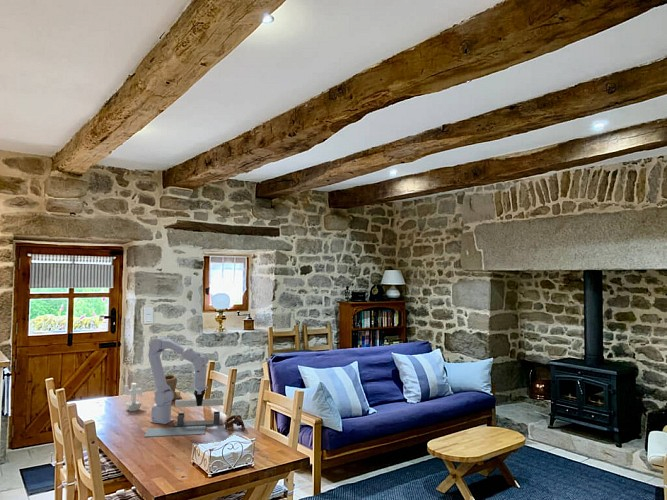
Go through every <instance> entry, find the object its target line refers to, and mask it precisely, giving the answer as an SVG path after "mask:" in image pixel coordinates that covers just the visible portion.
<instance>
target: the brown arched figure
mask: <svg viewBox="0 0 667 500" xmlns="http://www.w3.org/2000/svg"><path fill="white" fill-rule="evenodd" d="M223 423H224V429H225V430H226V431H227V430H228V429H230V428H232V429H234V425H236V427H240V426H241V430H242V431H243V432H244V431H245V430H246V425H245V422H244V421H243V417H242V416H241V415H240V414H238V415H237V414H234V415H231V416H229V417H228V418H227V419H226V420H225V422H223Z"/></svg>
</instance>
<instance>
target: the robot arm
mask: <svg viewBox="0 0 667 500" xmlns="http://www.w3.org/2000/svg"><path fill="white" fill-rule="evenodd" d="M148 347H149V348H148V354H147V355H148V360H149V363H150V364H149V365H150V368H151V372H152V375H153V379H154V385H155V391H154V404H153V405H152V407H151V412H150V413H151V417H150V419H151V420H150V421H149V422H150V423H156V424H163V425H166V424H169V423H170V422H172V421H174V420H175V418H172V401H174V399H173V398H174V393H173V392H172V390H171V388H170V386H168V385H167V382H166V379H165V376H166V375H165V372H164V368H163V364H162V363H163V362H162V359H161V354H162V353H163V352H164V350H167V349H168V350H171V351H174V352H175V353H177V354H180V355H181V356H182V359H185V360H186V361H187V362H190V363H192V365H193V366H194V381H193V382H194V383H193V389H194V391H193V395H194V397H195V399H196V403H197V406H196V407H202V406H201V405H202V400H203V399H204V396H205V395H206V389H209V387H208V386H206V384H207V364H208V363H209V357H208V356H207V355H206V354H201V353H200V352H197V351H195V350H194V349H193V347H191V348H190V347H188V348H185V347H183V346H181V345H180V344H178V343H177V342H176V341H174V340H172V339H171V338H168V337H167V336H164V335H163V336H161V337H156V338H155V337H154V338H153V339H151V340H150V342H149V344H148Z"/></svg>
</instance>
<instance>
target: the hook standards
mask: <svg viewBox="0 0 667 500" xmlns="http://www.w3.org/2000/svg"><path fill="white" fill-rule="evenodd" d="M220 412H221V411H213V419H207V420H205V419H204V420H203V419H202V420H186V421H185V412H178V413H177V414H178V415H177V418H176V419H177V421H174V426H173V427H192V426H206V427H217V426H219V425H220V426H219V427H221V426H223V419H220V418H221V416H220V415H221V413H220Z"/></svg>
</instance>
